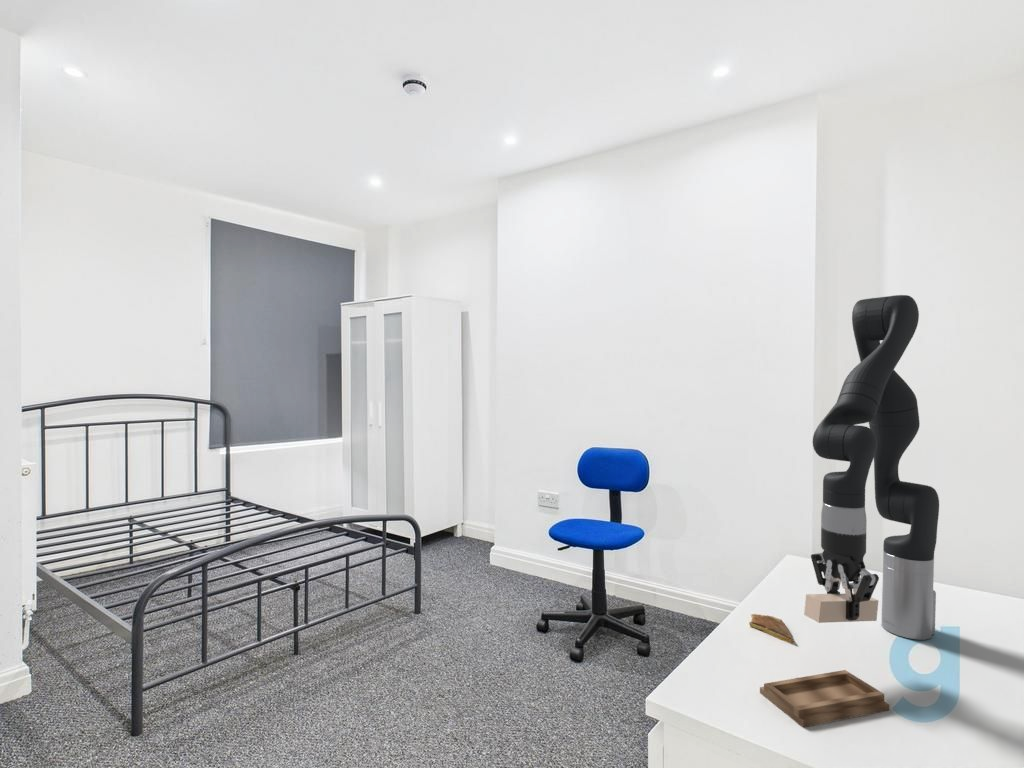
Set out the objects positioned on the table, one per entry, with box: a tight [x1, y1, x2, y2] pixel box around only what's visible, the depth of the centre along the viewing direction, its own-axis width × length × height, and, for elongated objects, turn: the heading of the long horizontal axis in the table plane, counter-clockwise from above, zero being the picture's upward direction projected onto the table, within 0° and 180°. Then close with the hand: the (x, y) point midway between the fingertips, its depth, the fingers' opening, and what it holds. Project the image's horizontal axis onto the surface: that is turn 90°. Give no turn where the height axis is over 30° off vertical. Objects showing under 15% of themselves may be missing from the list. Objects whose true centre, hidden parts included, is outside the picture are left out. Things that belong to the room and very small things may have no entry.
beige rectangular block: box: [803, 592, 879, 624], centre depth 107 cm, size 14×4×4 cm, turn 106°
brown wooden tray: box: [759, 669, 891, 728], centre depth 97 cm, size 18×10×2 cm, turn 106°
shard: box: [749, 613, 794, 644], centre depth 123 cm, size 11×8×2 cm
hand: (842, 614), depth 108 cm, fingers closed on beige rectangular block, 3 cm apart
